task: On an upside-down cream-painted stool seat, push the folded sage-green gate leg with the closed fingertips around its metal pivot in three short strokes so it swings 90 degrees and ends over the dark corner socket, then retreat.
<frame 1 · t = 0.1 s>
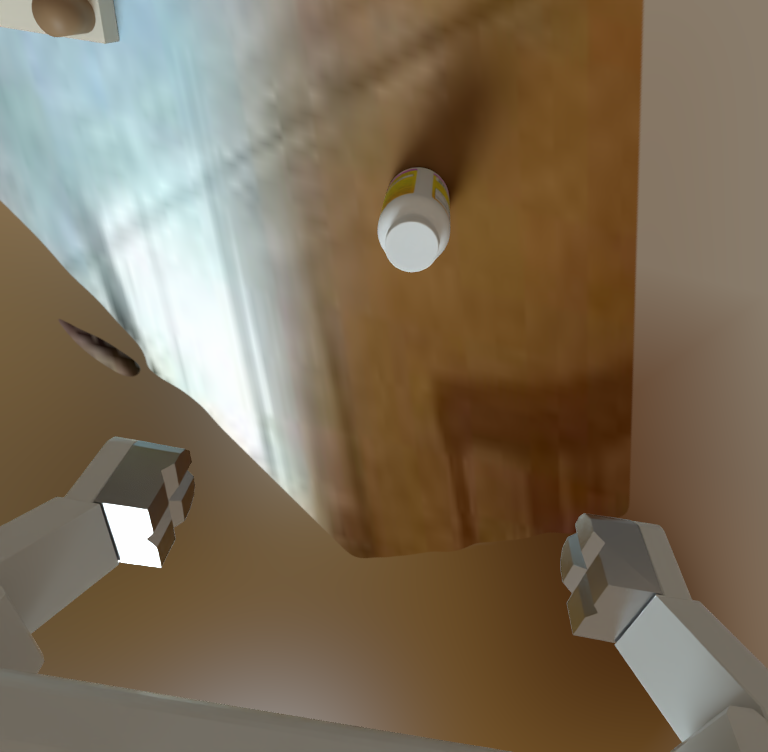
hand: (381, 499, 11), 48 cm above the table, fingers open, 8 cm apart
supplement bottle: (418, 197, 55), on the table
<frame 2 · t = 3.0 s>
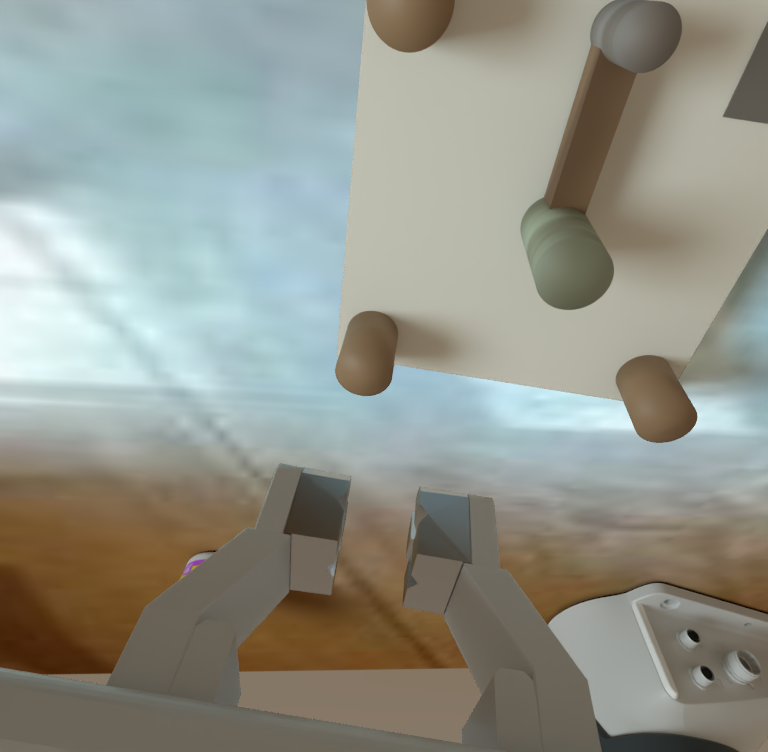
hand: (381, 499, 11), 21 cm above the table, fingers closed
stool seat: (543, 205, 28), on the table
swing leg: (593, 161, 21), point 6 cm above the table, hinge at 0.0°
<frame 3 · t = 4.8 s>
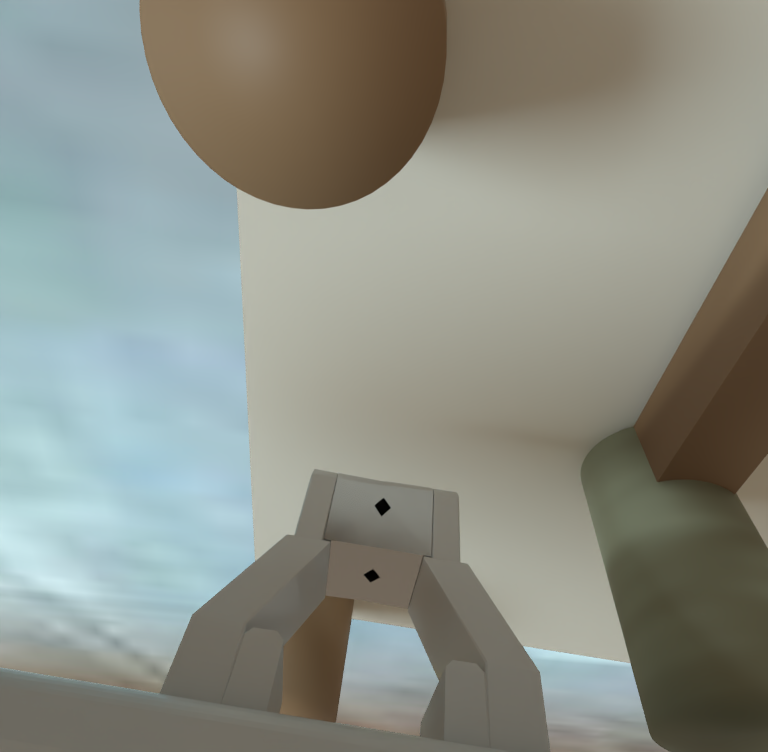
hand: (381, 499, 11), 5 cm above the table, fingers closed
stool seat: (614, 395, 15), on the table
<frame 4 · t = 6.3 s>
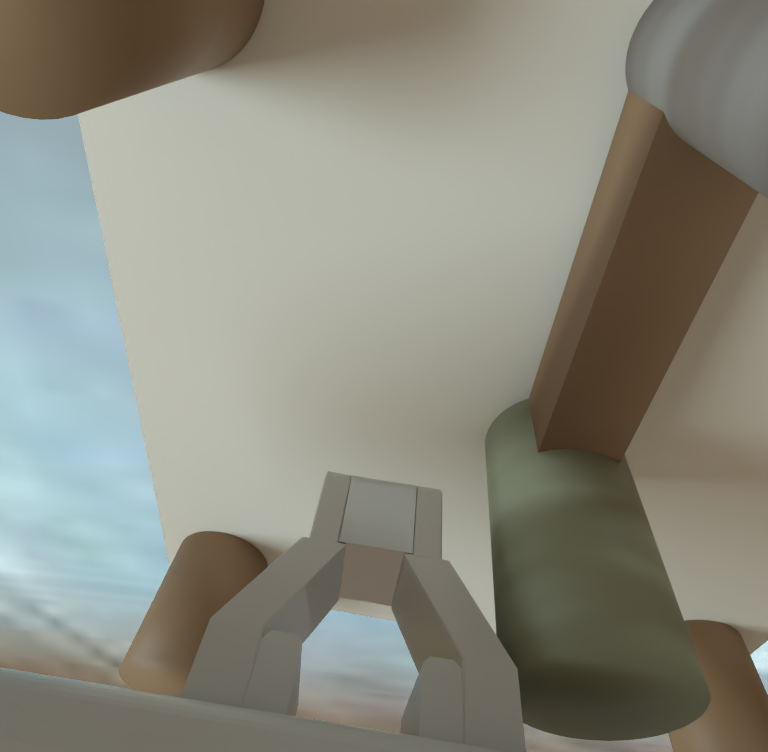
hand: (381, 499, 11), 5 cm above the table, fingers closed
stool seat: (519, 369, 15), on the table
swing leg: (642, 396, 8), point 6 cm above the table, hinge at 3.2°, touching gripper
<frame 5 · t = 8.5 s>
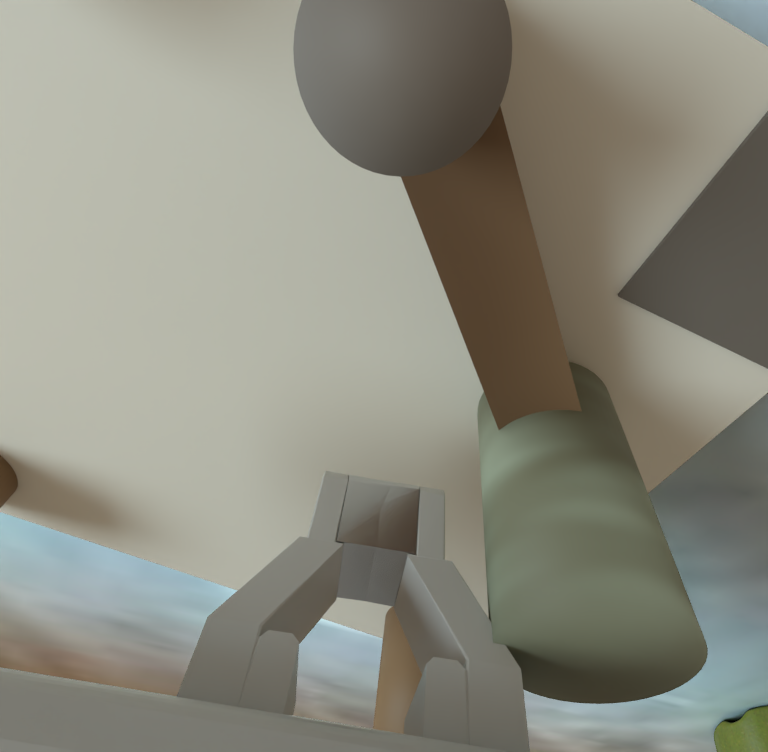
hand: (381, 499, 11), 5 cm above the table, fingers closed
stool seat: (304, 331, 15), on the table
swing leg: (510, 351, 8), point 6 cm above the table, hinge at 46.7°, touching gripper
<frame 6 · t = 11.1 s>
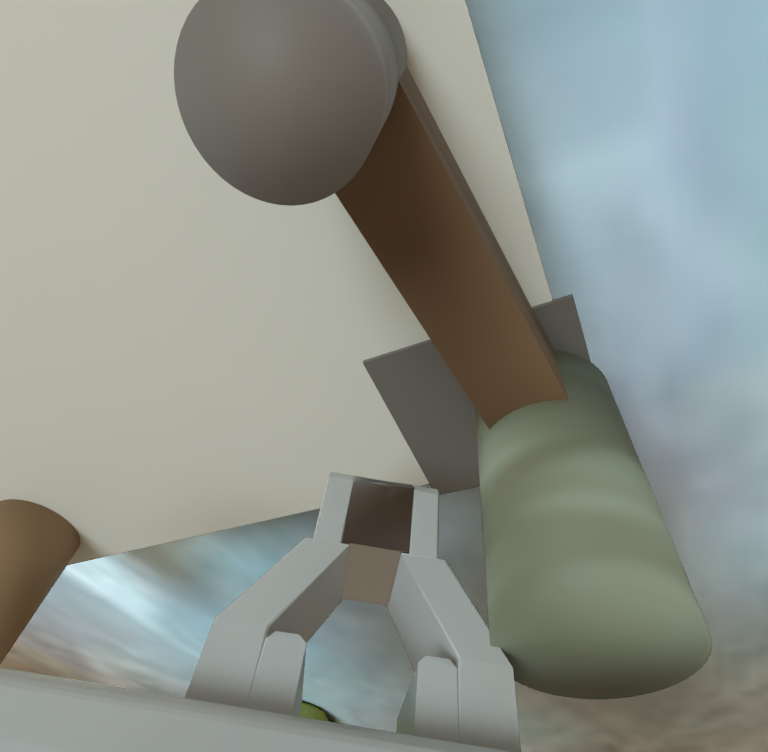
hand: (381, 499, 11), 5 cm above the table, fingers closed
stool seat: (84, 196, 13), on the table
plant pot: (288, 713, 31), on the table
swing leg: (471, 351, 8), point 6 cm above the table, hinge at 98.1°, touching gripper
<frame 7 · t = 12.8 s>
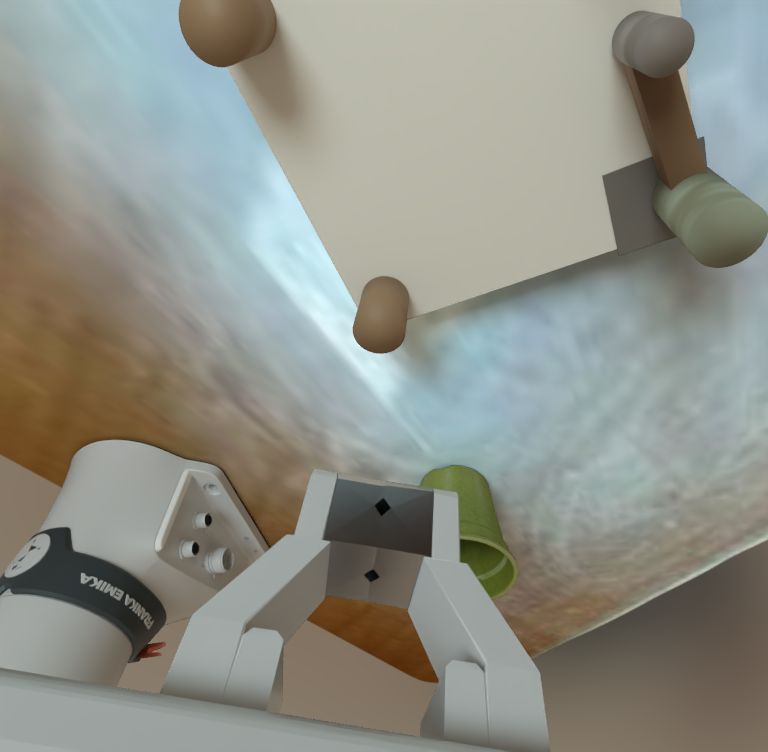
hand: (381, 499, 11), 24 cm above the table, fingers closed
stool seat: (462, 104, 28), on the table
plant pot: (454, 484, 47), on the table
swing leg: (683, 140, 23), point 6 cm above the table, hinge at 98.1°
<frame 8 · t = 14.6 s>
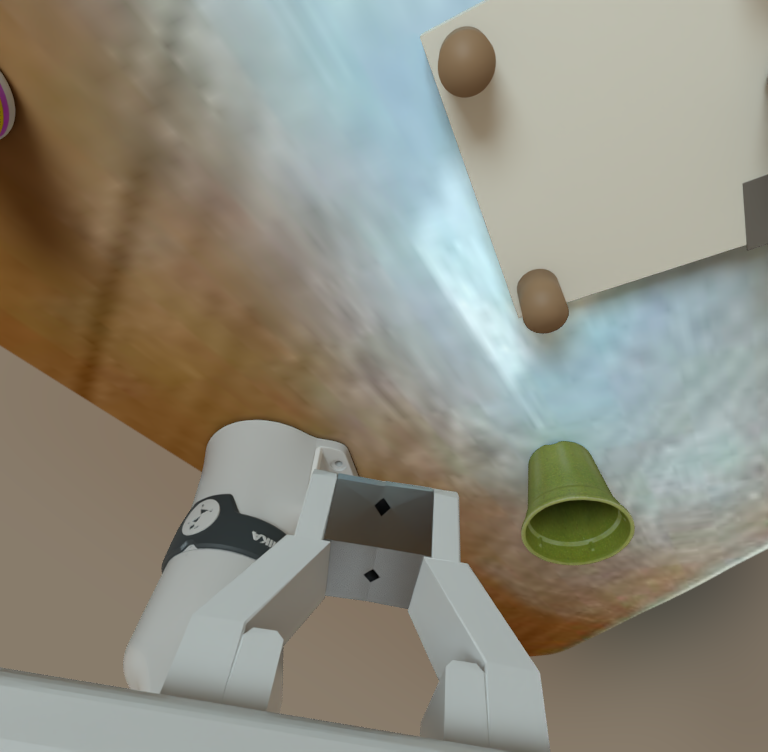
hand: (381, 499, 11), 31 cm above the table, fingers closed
stool seat: (622, 125, 34), on the table
plant pot: (559, 460, 52), on the table
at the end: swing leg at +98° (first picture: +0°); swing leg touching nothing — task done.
